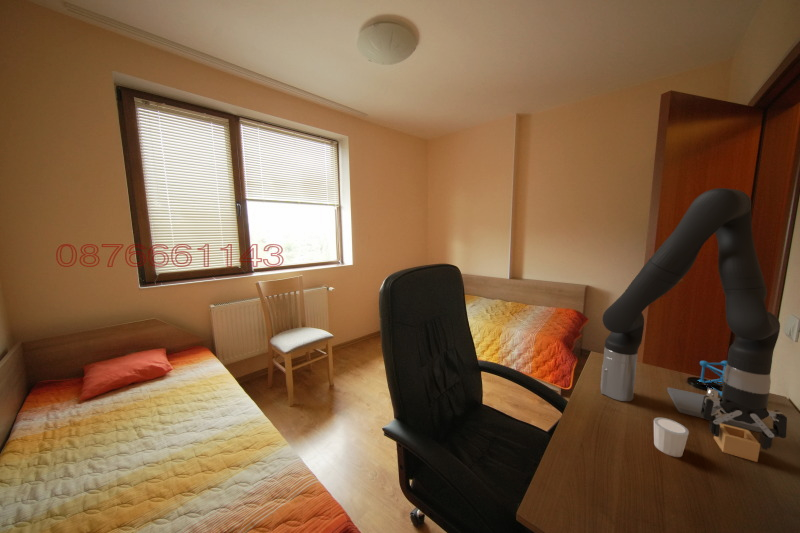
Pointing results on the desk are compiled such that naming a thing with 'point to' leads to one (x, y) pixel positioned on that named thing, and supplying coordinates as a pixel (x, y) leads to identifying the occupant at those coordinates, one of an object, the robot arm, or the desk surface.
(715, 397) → the steel post
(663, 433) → the shot glass
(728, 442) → the ochre collar
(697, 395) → the post board
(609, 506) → the desk surface
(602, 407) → the desk surface
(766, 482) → the desk surface
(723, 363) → the molecular structure
